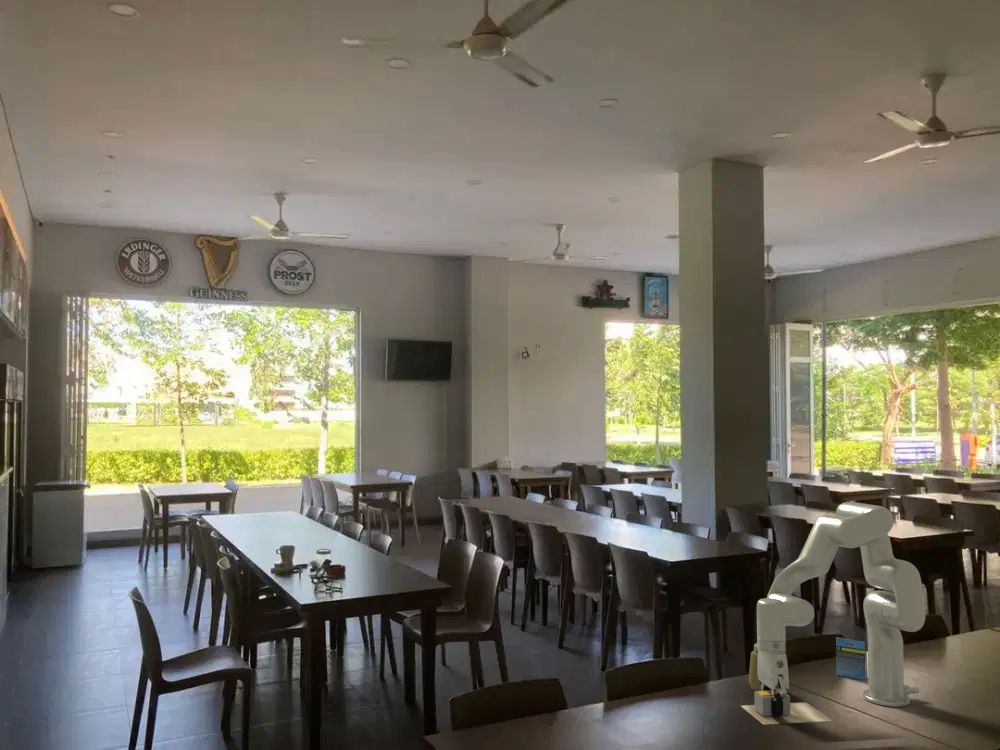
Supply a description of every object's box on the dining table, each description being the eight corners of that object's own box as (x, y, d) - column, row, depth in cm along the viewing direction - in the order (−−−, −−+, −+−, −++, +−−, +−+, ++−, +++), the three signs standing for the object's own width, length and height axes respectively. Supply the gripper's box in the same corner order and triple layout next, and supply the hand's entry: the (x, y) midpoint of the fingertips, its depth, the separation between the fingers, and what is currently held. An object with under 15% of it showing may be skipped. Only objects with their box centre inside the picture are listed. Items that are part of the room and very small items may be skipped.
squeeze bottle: (778, 698, 239) (777, 637, 240) (750, 696, 241) (749, 635, 242) (774, 689, 247) (773, 630, 248) (747, 688, 249) (746, 628, 250)
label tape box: (867, 677, 259) (867, 638, 260) (865, 681, 256) (865, 641, 256) (838, 672, 264) (837, 634, 264) (836, 676, 260) (835, 637, 261)
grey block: (781, 707, 226) (781, 688, 226) (790, 714, 221) (790, 694, 222) (754, 709, 225) (754, 690, 225) (762, 716, 220) (762, 696, 220)
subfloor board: (806, 707, 232) (806, 702, 232) (833, 726, 218) (833, 720, 218) (740, 711, 229) (740, 705, 229) (763, 730, 215) (763, 724, 215)
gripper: (799, 653, 216) (800, 722, 215) (769, 635, 233) (770, 699, 232) (773, 654, 215) (774, 723, 214) (745, 636, 232) (745, 701, 231)
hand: (772, 710), depth 223 cm, fingers closed on grey block, 5 cm apart
